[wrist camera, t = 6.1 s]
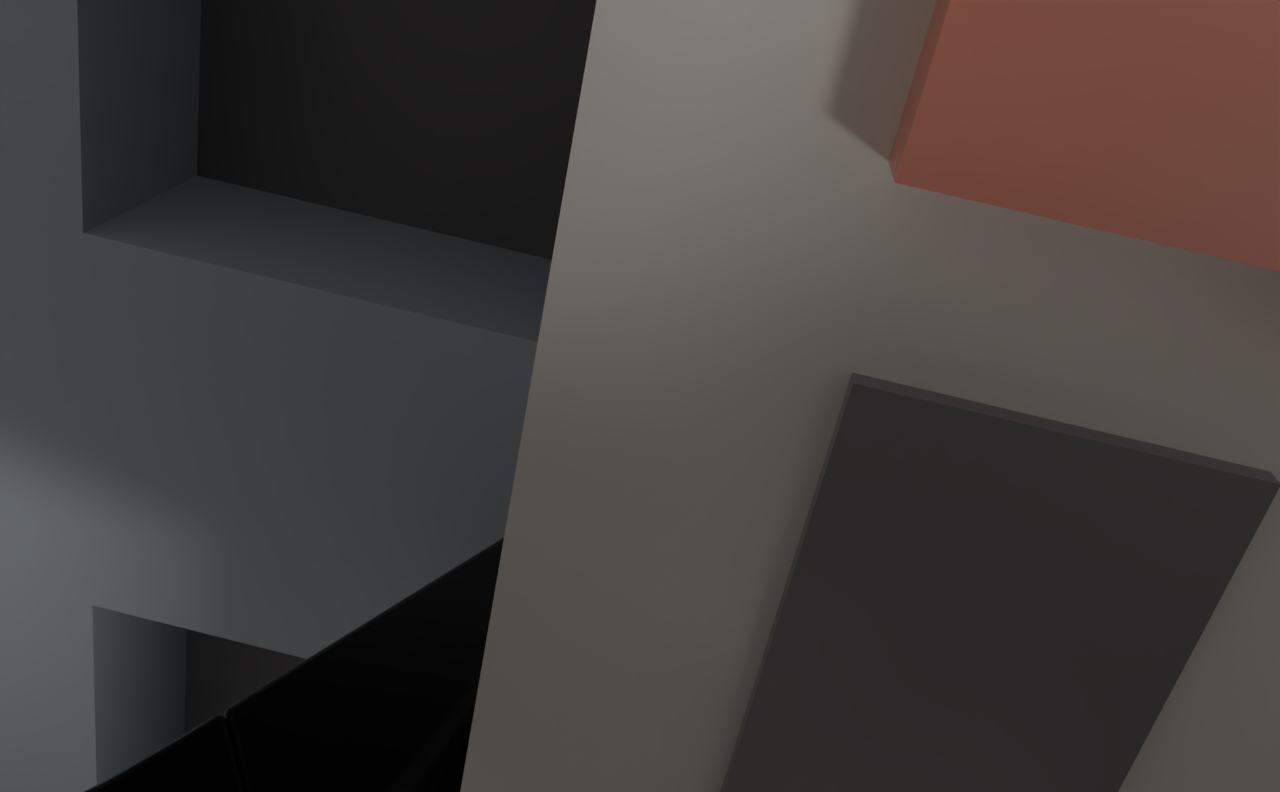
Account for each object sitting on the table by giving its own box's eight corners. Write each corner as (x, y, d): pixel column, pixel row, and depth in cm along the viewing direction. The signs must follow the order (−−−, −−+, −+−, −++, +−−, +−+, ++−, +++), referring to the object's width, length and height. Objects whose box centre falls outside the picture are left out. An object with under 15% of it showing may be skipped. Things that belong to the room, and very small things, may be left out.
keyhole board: (1037, 1105, 14) (1071, 1282, 13) (-1, 839, 15) (-113, 974, 13) (1911, -348, 7) (2276, -421, 5) (-133, -787, 8) (-417, -987, 6)
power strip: (825, 1018, 13) (840, 1684, 8) (498, 935, 13) (325, 1543, 8) (1344, -204, 7) (2352, -357, 3) (764, -329, 8) (700, -694, 3)
